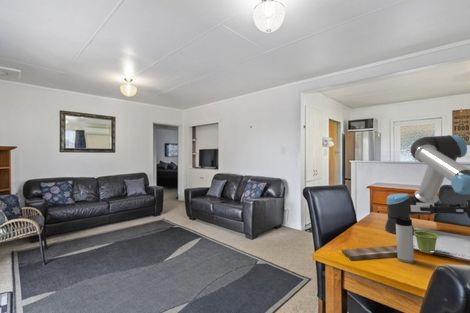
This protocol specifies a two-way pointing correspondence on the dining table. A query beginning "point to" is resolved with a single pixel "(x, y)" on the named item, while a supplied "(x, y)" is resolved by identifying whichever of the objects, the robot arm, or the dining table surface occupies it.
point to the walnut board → (371, 252)
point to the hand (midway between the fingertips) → (413, 206)
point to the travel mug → (404, 239)
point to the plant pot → (426, 241)
